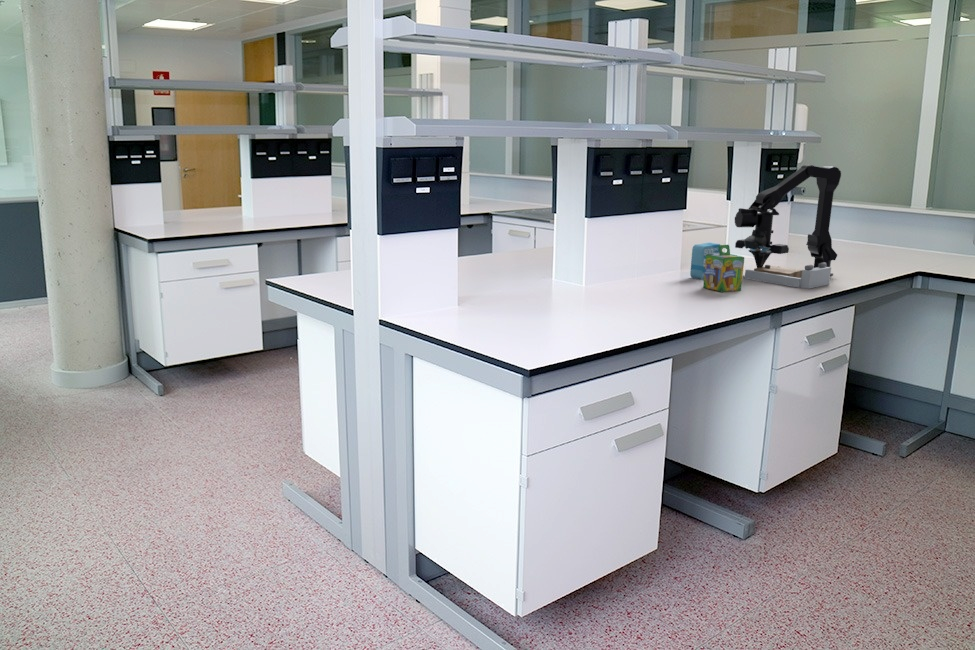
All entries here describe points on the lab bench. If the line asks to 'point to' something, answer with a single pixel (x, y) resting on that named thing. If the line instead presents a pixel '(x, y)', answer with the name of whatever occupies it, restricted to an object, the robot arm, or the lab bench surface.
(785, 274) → the door panel
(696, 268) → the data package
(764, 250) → the robot arm
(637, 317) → the lab bench surface
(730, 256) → the chalk box
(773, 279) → the guide rail
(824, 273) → the block
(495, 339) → the lab bench surface
